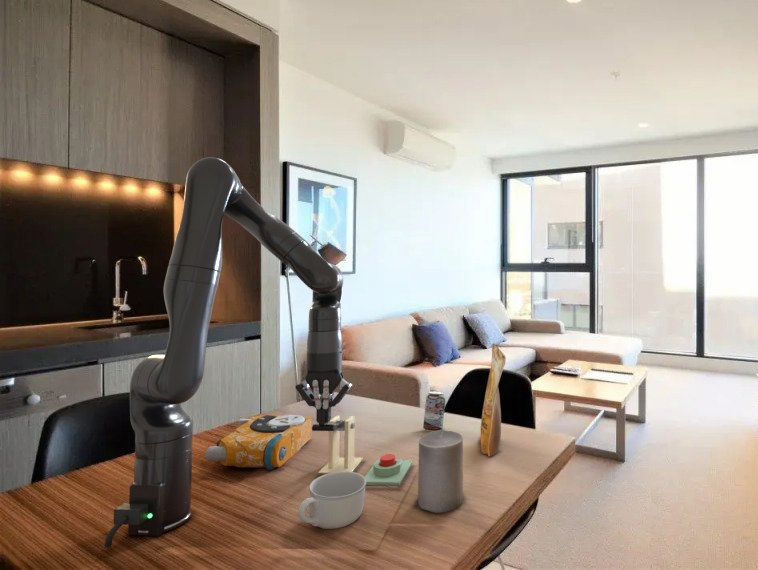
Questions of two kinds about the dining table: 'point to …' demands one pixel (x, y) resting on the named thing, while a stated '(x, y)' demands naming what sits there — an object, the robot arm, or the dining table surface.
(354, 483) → the teacup
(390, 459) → the button
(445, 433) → the pillar candle
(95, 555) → the dining table surface
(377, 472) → the button block
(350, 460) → the lever bracket
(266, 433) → the device
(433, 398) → the beverage can
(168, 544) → the dining table surface
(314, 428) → the press lever
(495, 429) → the pancake mix bag
